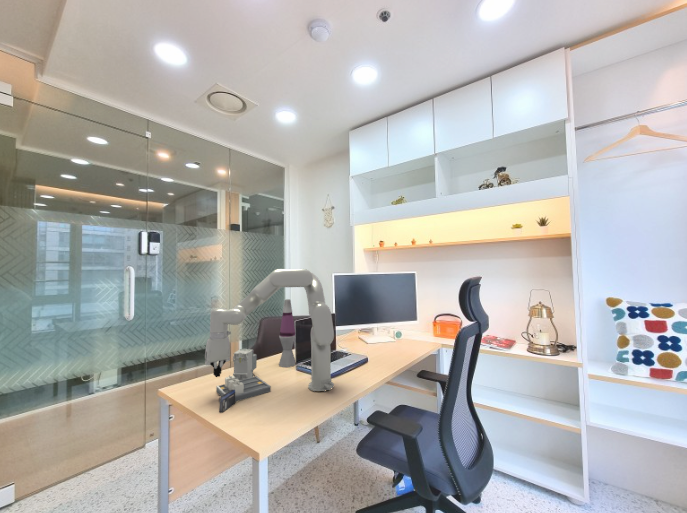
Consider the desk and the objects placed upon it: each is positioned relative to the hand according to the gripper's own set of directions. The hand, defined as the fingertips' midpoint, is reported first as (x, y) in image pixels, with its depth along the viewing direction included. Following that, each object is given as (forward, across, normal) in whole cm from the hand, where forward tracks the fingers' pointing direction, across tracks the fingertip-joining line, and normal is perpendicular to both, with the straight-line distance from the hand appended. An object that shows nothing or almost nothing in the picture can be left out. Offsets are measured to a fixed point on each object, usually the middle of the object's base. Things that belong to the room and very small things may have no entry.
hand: (217, 376), depth 131 cm
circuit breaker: (+10, -20, -17) cm, 28 cm away
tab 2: (+8, -8, 0) cm, 11 cm away
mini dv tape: (+10, -1, +12) cm, 16 cm away
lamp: (+10, -48, -22) cm, 53 cm away
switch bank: (+10, -12, 0) cm, 16 cm away
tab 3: (+8, -8, +6) cm, 12 cm away
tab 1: (+8, -8, -5) cm, 12 cm away
